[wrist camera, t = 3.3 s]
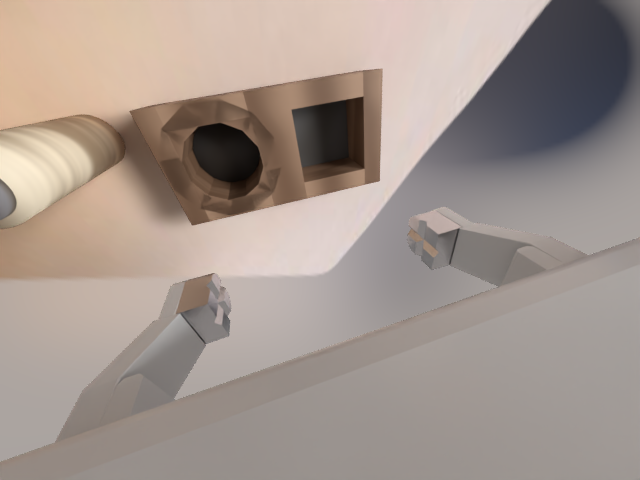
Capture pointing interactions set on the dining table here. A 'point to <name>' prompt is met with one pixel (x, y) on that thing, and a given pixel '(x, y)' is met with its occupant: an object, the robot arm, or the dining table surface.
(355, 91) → the bit block
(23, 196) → the oak dowel
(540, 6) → the dining table surface
